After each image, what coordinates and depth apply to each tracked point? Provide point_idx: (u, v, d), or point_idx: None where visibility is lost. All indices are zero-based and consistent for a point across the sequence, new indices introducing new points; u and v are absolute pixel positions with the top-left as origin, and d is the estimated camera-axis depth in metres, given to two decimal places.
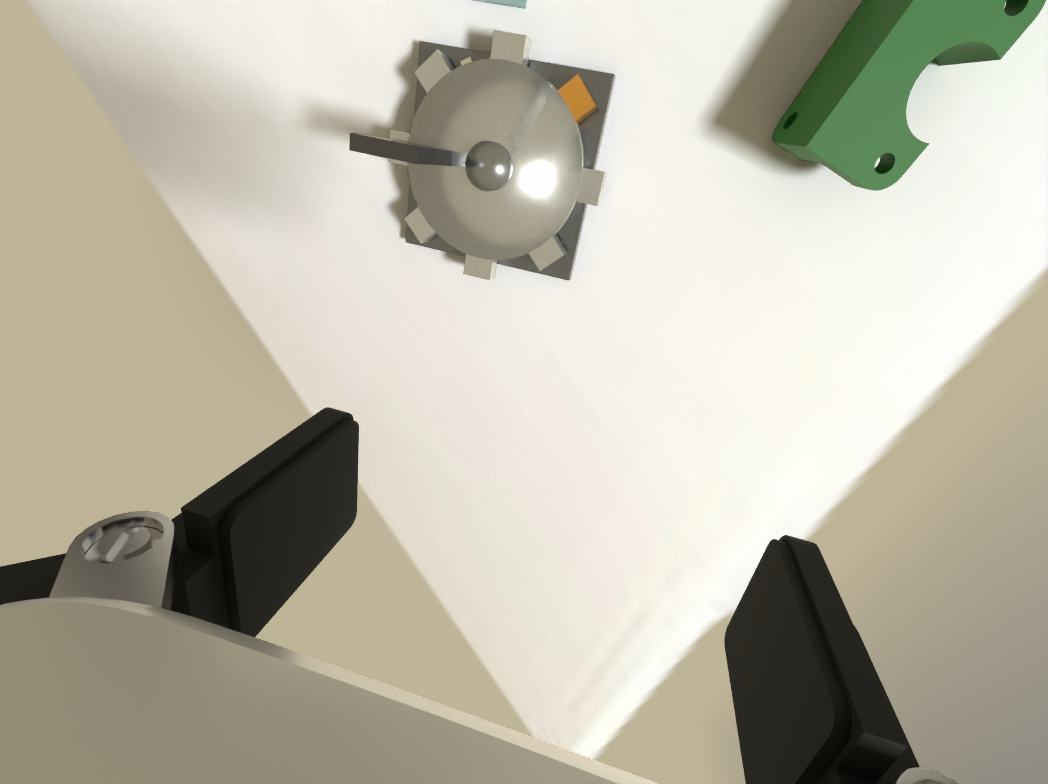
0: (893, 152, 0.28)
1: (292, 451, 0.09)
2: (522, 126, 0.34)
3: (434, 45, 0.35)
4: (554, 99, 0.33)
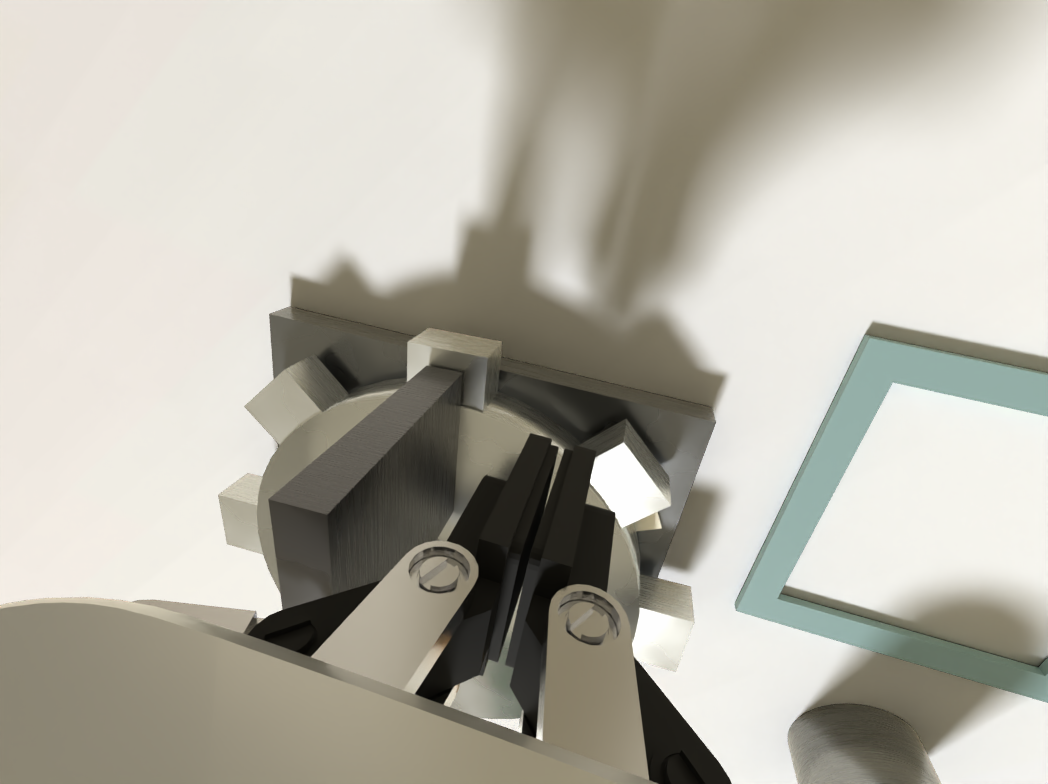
0: None
1: (532, 479, 0.10)
2: None
3: (699, 454, 0.14)
4: None
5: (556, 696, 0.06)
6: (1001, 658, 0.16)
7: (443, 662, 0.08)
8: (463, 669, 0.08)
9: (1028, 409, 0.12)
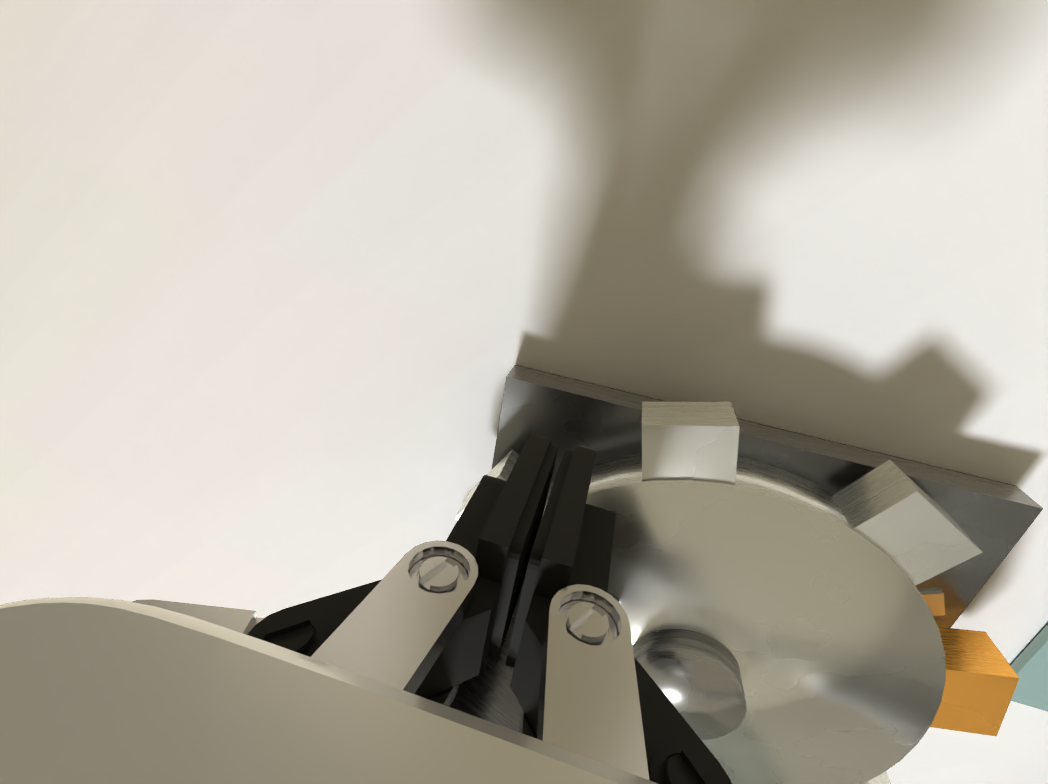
0: None
1: (532, 479, 0.10)
2: (809, 666, 0.13)
3: (1011, 540, 0.13)
4: (924, 679, 0.13)
5: (556, 696, 0.06)
6: None
7: (443, 662, 0.08)
8: (463, 669, 0.08)
9: None
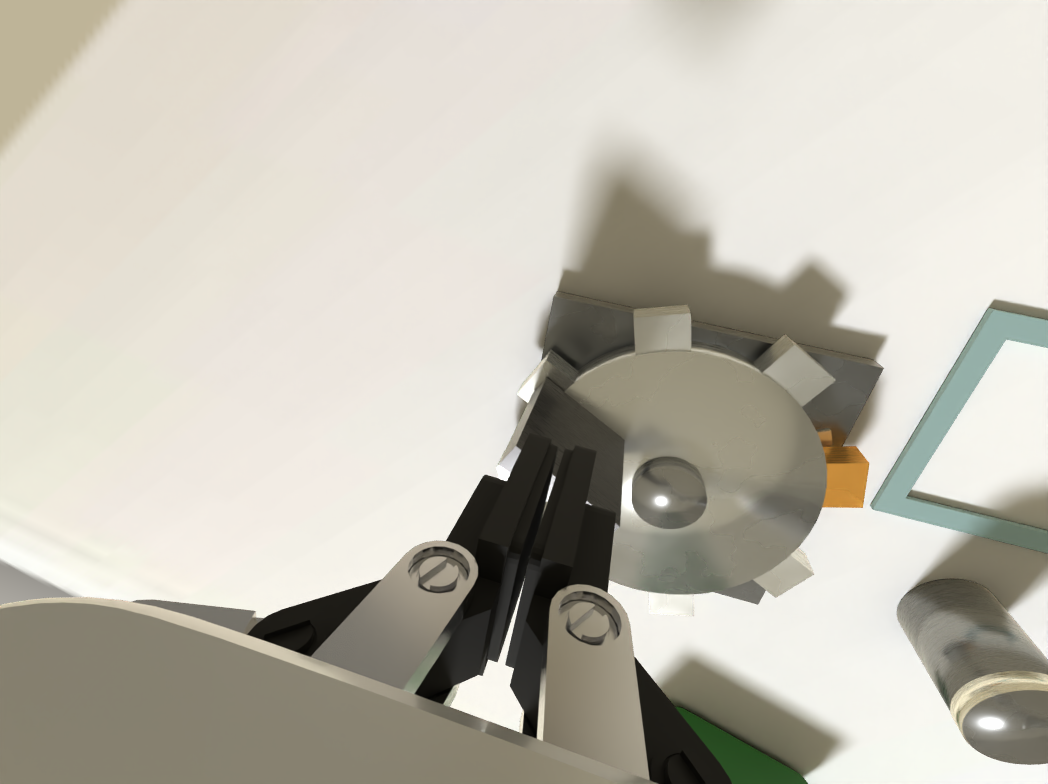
0: None
1: (532, 479, 0.10)
2: (746, 472, 0.21)
3: (868, 391, 0.21)
4: (814, 471, 0.21)
5: (556, 696, 0.06)
6: None
7: (443, 662, 0.08)
8: (463, 668, 0.08)
9: None
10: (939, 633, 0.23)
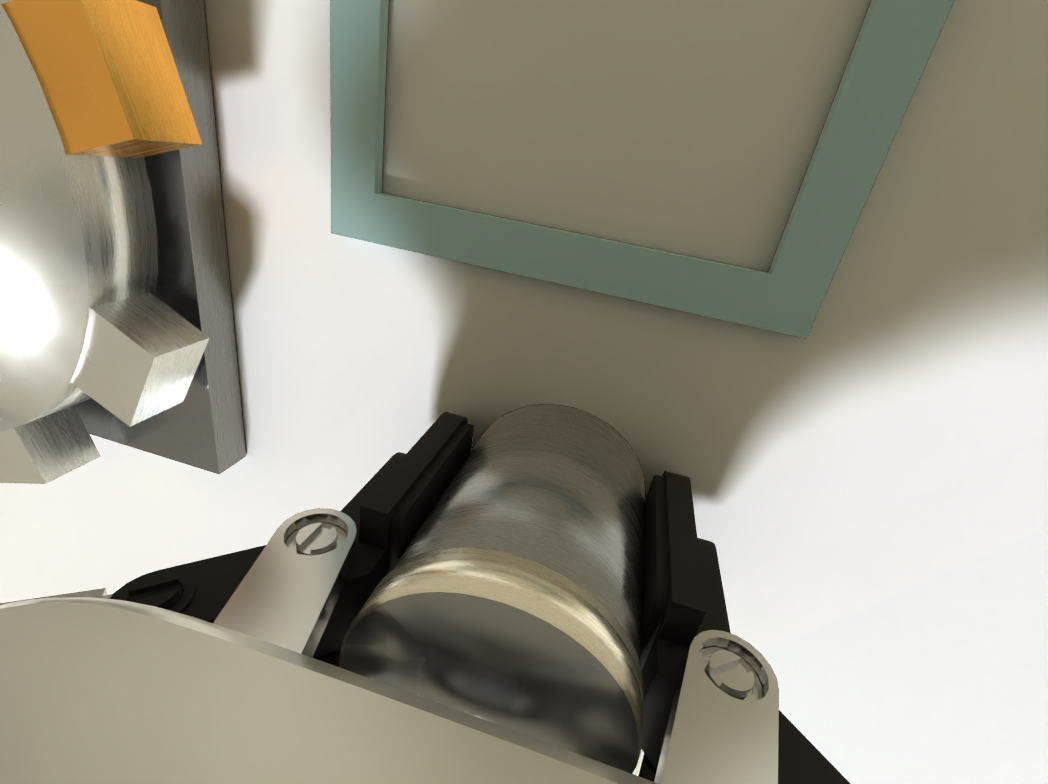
0: None
1: (432, 453, 0.10)
2: None
3: None
4: None
5: (685, 732, 0.06)
6: (712, 265, 0.09)
7: (336, 619, 0.08)
8: None
9: None
10: None
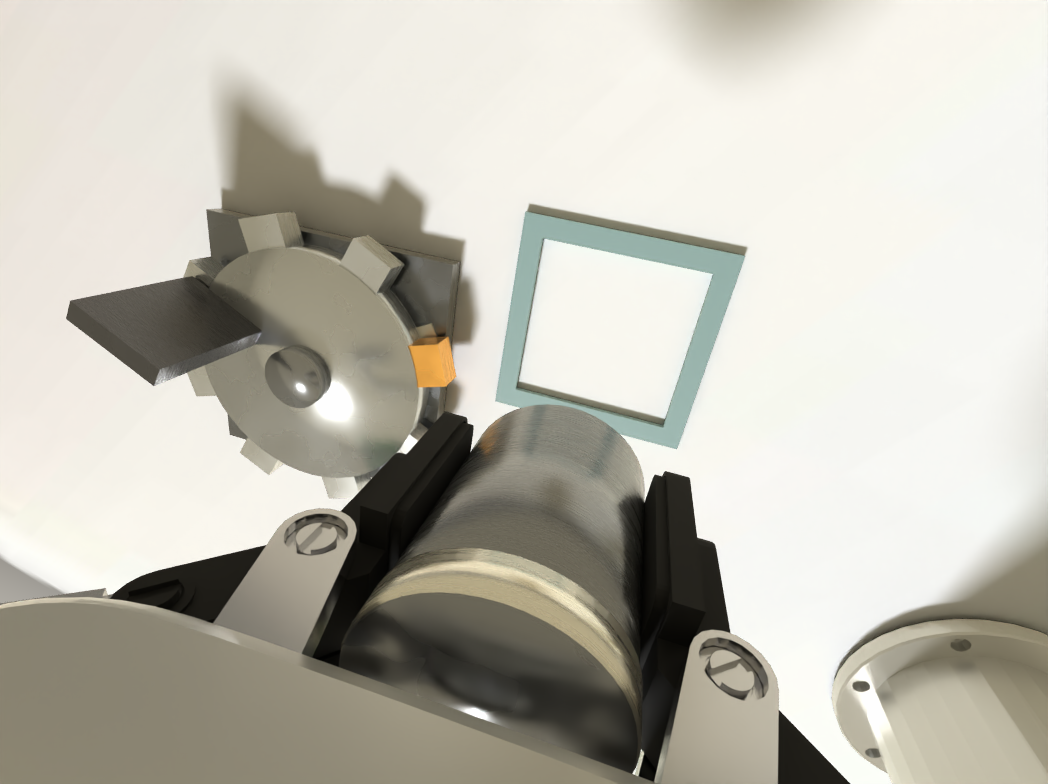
0: None
1: (433, 453, 0.10)
2: (354, 357, 0.25)
3: (448, 286, 0.24)
4: (400, 353, 0.24)
5: (685, 732, 0.06)
6: (643, 421, 0.26)
7: (336, 619, 0.08)
8: None
9: (608, 250, 0.23)
10: (439, 498, 0.10)
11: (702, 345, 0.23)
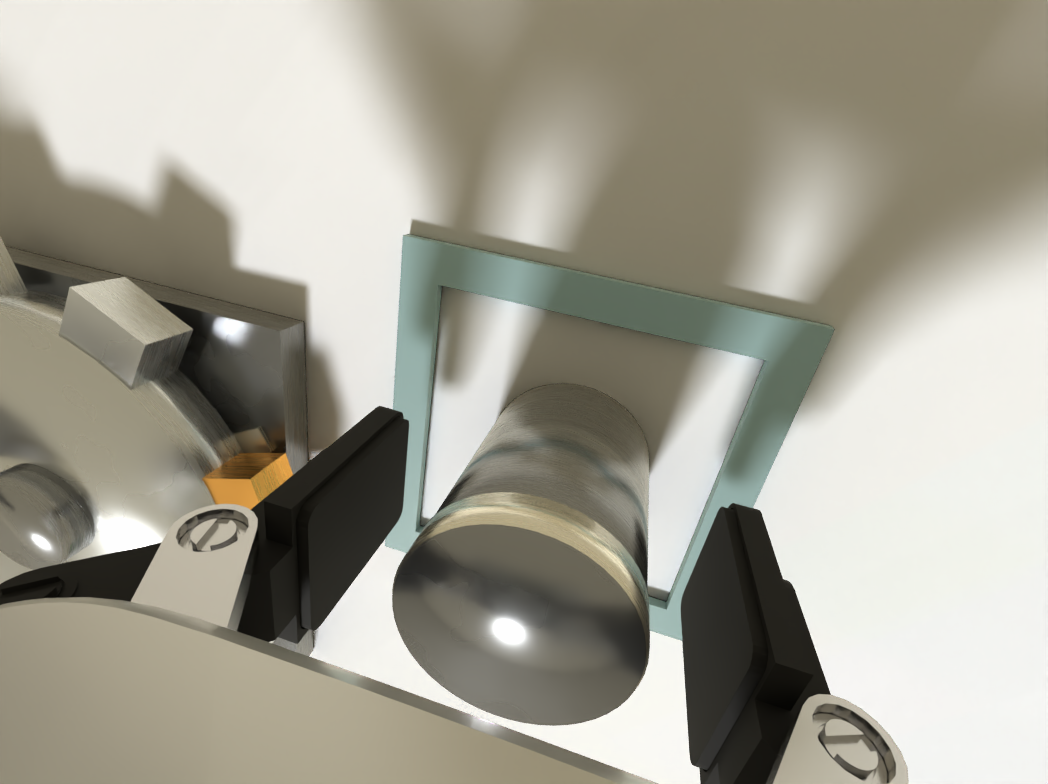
0: None
1: (355, 448, 0.10)
2: (119, 489, 0.14)
3: (278, 368, 0.14)
4: (191, 490, 0.13)
5: None
6: None
7: (247, 611, 0.08)
8: (252, 632, 0.08)
9: (562, 310, 0.12)
10: (469, 463, 0.11)
11: (741, 486, 0.12)
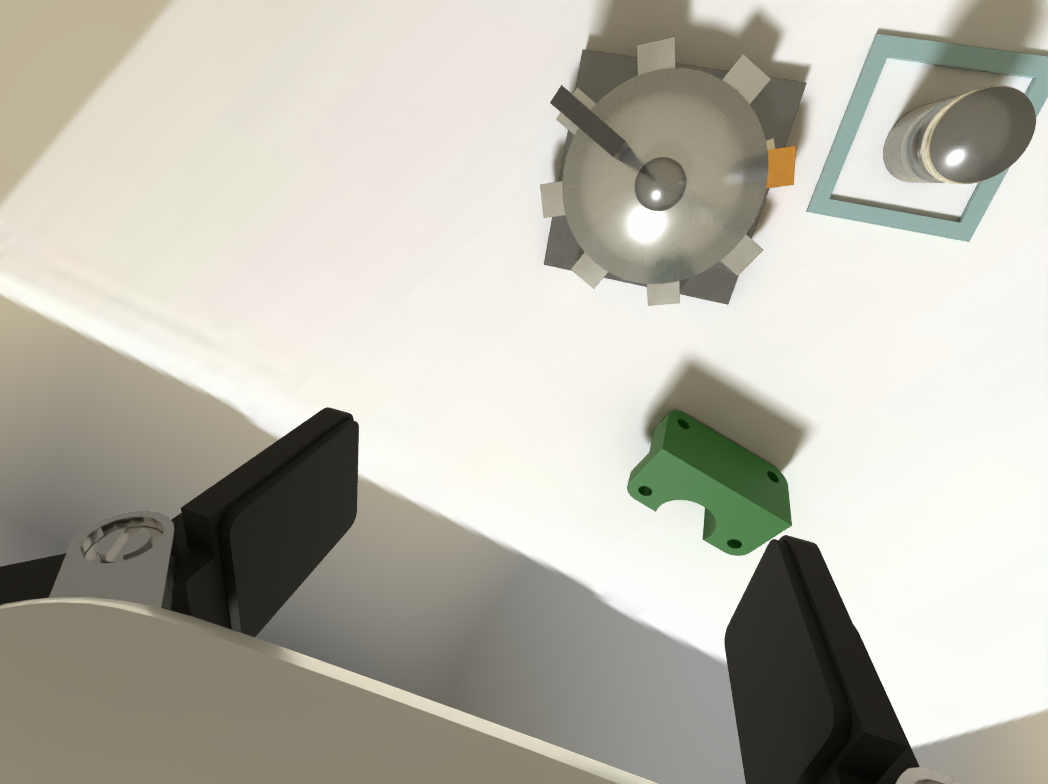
0: (652, 495, 0.39)
1: (292, 451, 0.09)
2: (713, 164, 0.31)
3: (797, 103, 0.30)
4: (759, 156, 0.30)
5: None
6: (940, 220, 0.32)
7: None
8: None
9: (946, 63, 0.29)
10: (915, 119, 0.28)
11: None
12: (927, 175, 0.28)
